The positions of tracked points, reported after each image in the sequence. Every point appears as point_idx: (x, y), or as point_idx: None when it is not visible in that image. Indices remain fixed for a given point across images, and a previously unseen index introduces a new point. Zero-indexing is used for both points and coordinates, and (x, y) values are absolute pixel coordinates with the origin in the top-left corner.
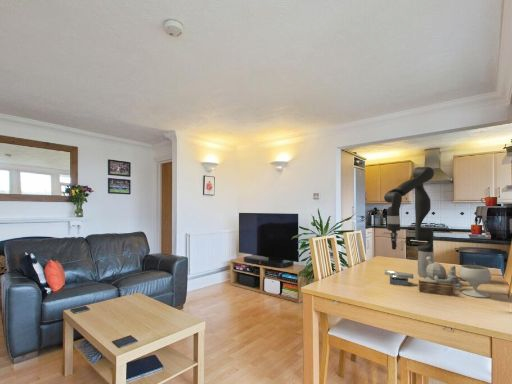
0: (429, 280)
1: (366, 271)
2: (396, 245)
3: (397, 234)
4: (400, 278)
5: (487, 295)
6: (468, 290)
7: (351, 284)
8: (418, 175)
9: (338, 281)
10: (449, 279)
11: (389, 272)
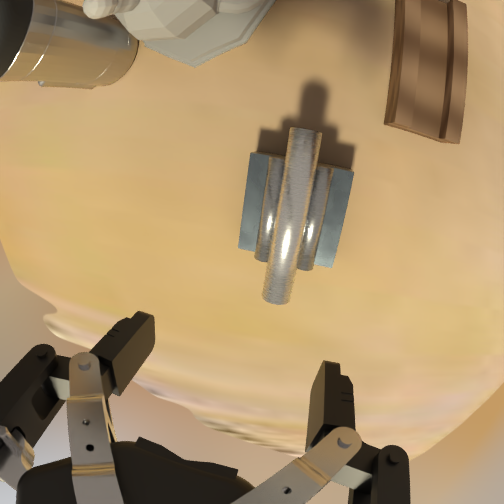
0: (225, 38)
1: (124, 315)
2: (140, 325)
3: (84, 482)
4: (325, 210)
5: None
6: None
7: (360, 397)
8: None
9: None
10: None
11: (293, 276)
